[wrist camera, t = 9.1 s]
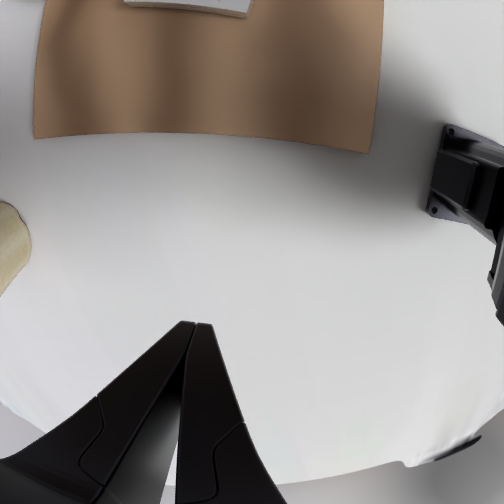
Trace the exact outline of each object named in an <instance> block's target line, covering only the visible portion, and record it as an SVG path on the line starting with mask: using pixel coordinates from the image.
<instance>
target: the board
mask: <svg viewBox="0 0 504 504" xmlns="http://www.w3.org/2000/svg"><path fill="white" fill-rule="evenodd" d="M383 15H384V0H254V2H253V5H252V7H251V10H250V13H249V16H248V19H244V18H239V17H234V16H228V15H222V14H216V13H209V12H202V11H193V10H184V9H172V8H156V7H131V6H130V5H128V4H126V3H125V2H124V0H46V3H45V8H44V13H43V18H42V23H41V29H40V36H39V42H38V50H37V59H36V69H35V82H34V106H33V132H34V139H43V138H52V137H62V136H73V135H87V134H105V133H138V132H167V133H201V134H220V135H234V136H247V137H258V138H268V139H277V140H285V141H293V142H301V143H308V144H315V145H322V146H328V147H334V148H340V149H346V150H352V151H357V152H362V153H367V154H369V149H370V143H371V136H372V130H373V123H374V116H375V108H376V100H377V92H378V83H379V73H380V62H381V50H382V35H383Z"/></svg>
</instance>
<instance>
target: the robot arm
mask: <svg viewBox="0 0 504 504" xmlns="http://www.w3.org/2000/svg"><path fill="white" fill-rule="evenodd" d="M449 129H451V134H450V135H449ZM433 207H435V209H434V211H433V212H432V208H433ZM426 212H427V213H428V215H430V216H431V217H434V218H440V219H445V220H450V221H455V222H460V223H464V224H469V225H470V226H472V227H473V228H474V229H476V230H477V231H478V232H480V233H481V234H482V235H483V236H485V237H486V238H487V239H489V240H490V241H491V242H492V243H494V244H495V245H496V250H495V255H494V259H493V264H492V268H491V270H490V271H489V274H488V278H487V280H488V282H489V284H490V287H491V289H492V298H493V301H494V304H495V307H496V309H497V311H496V317H497V318H498V320H499V321H500V322H501V324H502V325H503V326H504V146H502V145H500V144H498V143H495V142H493V141H491V140H489V139H486V138H484V137H482V136H480V135H477V134H475V133H472V132H470V131H467V130H465V129H462V128H460V127H457V126H455V125H452V124H445V125H444V126H443V130H442V136H441V142H440V147H439V151H438V153H437V158H436V163H435V168H434V173H433V177H432V182H431V190H430V194H429V198H428V202H427V206H426ZM177 440H178V450H177V467H176V491H175V504H287V503H286V501H285V500H284V498H283V496H282V495H281V493H280V492H279V490H278V488H277V487H276V485H275V484H274V482H273V480H272V479H271V477H270V475H269V474H268V472H267V470H266V468H265V466H264V465H263V463H262V461H261V459H260V457H259V455H258V453H257V451H256V449H255V446H254V444H253V442H252V439H251V437H250V434H249V432H248V429H247V426H246V424H245V423H244V418H243V416H242V413H241V410H240V407H239V404H238V402H237V399H236V396H235V393H234V390H233V387H232V384H231V381H230V378H229V375H228V372H227V369H226V366H225V363H224V360H223V357H222V354H221V351H220V348H219V345H218V341H217V338H216V335H215V332H214V329H213V326H212V325H211V324H206V323H197V324H196V323H195V322H190V321H180V322H179V323H178V324H176V325H175V326H174V327H173V328H172V329H171V330H170V331H169V332H167V333H166V334H165V335H164V336H163V337H162V338H161V339H159V340H158V341H157V342H156V343H155V344H154V345H153V346H152V347H150V348H149V349H148V350H147V351H146V352H145V353H144V354H142V355H141V356H140V357H139V358H138V359H137V360H136V361H135V362H133V363H132V364H131V365H130V366H129V367H128V368H127V369H125V370H124V371H123V372H122V373H121V374H120V375H119V376H118V377H116V378H115V379H114V380H113V381H112V382H111V383H110V384H108V385H107V386H106V387H105V388H104V389H103V390H102V391H100V392H99V393H98V394H97V397H96V396H95V397H93V398H92V399H91V400H90V401H89V402H88V403H87V404H85V405H84V406H83V407H82V408H81V409H79V410H78V411H77V412H76V413H75V414H73V415H72V416H71V417H70V418H68V419H67V420H65V421H64V422H63V423H61V424H60V425H58V426H57V427H56V428H54V429H53V430H51V431H50V432H48V433H47V434H45V435H44V436H42V437H41V438H39V439H38V440H36V441H35V442H33V443H32V444H30V445H28V446H27V447H26V448H24V449H22V450H21V451H19V452H17V453H16V454H14V455H11V456H9V457H6V458H3V459H0V504H160V501H161V497H162V493H163V490H164V486H165V482H166V479H167V475H168V472H169V468H170V465H171V461H172V457H173V454H174V450H175V447H176V443H177Z"/></svg>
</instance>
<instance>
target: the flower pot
mask: <svg viewBox="0 0 504 504" xmlns="http://www.w3.org/2000/svg"><path fill="white" fill-rule="evenodd" d="M30 254H31V241H30V236H29V232H28V229H27V227H26V225H25V224H24V223H23V222H22V221H21V219H20V217H19V215H18V212H17V211H16V210H15V209H14V208H13V207H12V206H10V205H8V204H6V203H1V202H0V297H1V295H2V294H3V292H4V291H5V290H6V288H7V287H8V286H9V284H10V283H11V282H12V281H13V279H14V278H15V277H16V276H17V274H18V273H19V272H20V271H21V269H22V268H23V267H24V266H25V265H26V263H27V262H28V260H29V258H30Z"/></svg>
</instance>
